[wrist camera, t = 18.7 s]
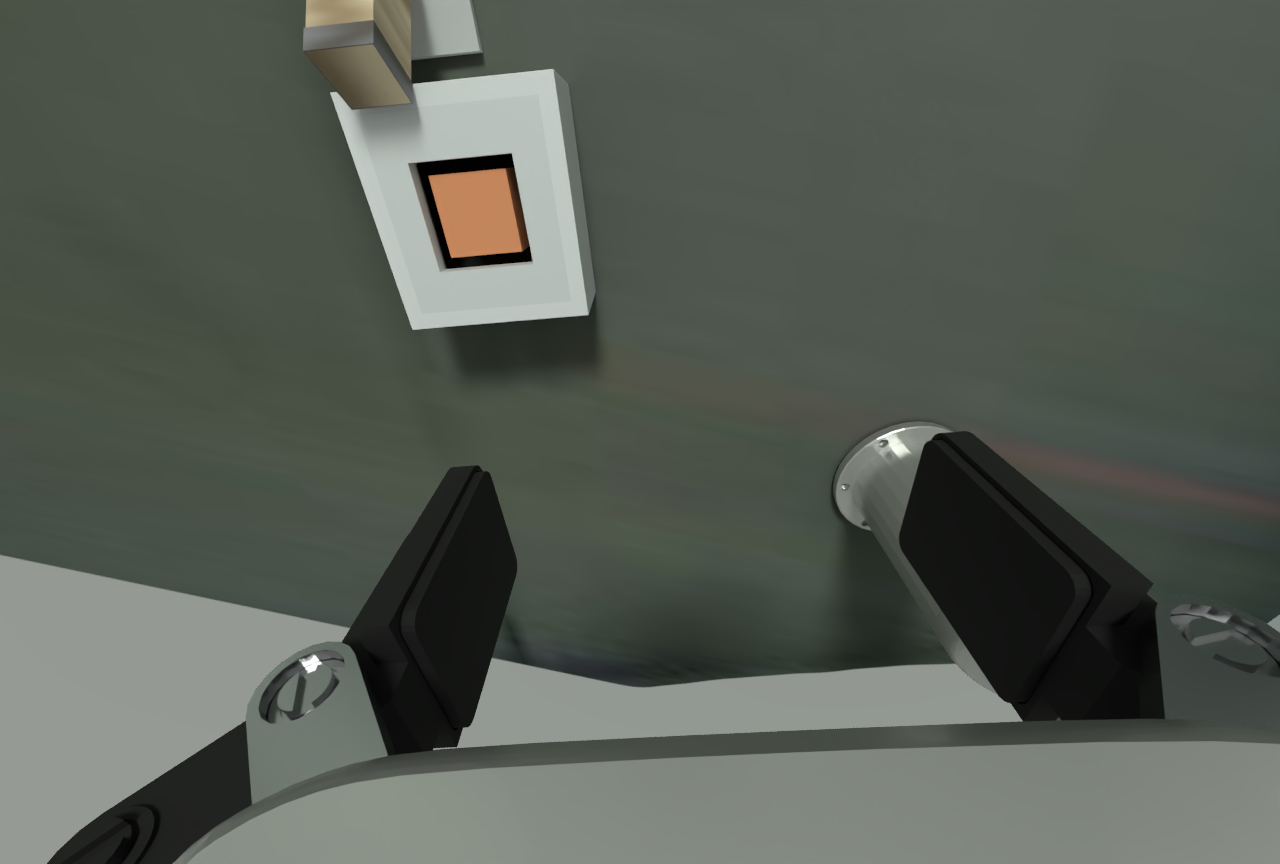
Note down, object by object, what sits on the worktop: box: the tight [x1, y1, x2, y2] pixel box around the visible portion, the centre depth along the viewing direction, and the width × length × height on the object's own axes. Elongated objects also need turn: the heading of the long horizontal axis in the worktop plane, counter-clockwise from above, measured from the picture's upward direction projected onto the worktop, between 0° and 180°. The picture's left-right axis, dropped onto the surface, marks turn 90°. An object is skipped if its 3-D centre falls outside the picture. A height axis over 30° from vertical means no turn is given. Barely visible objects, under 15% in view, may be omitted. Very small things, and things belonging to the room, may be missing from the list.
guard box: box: [331, 69, 596, 330], centre depth 30 cm, size 12×13×6 cm
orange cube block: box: [428, 168, 530, 258], centre depth 30 cm, size 5×5×5 cm
